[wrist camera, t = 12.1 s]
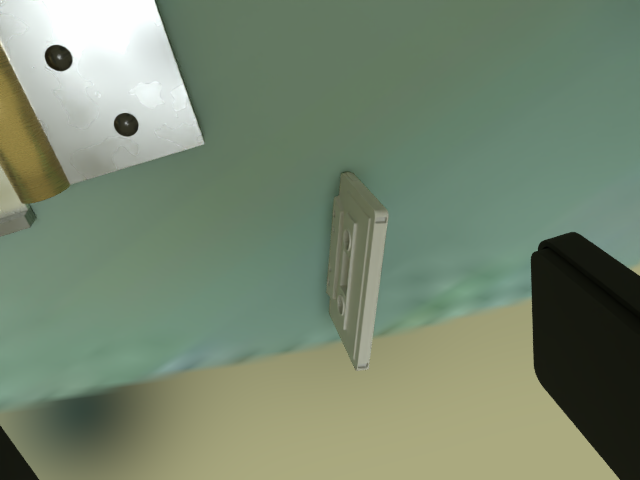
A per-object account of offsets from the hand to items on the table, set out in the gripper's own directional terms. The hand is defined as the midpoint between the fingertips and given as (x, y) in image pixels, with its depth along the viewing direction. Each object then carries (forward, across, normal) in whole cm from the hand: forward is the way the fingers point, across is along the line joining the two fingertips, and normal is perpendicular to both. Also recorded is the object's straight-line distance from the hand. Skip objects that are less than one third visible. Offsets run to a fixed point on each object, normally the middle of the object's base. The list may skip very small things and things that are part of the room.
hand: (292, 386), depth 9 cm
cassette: (+29, -5, +14) cm, 32 cm away
